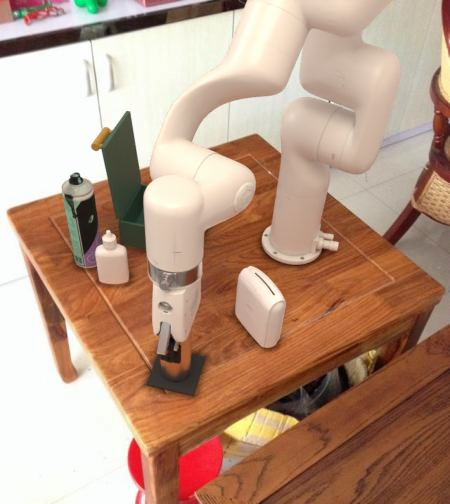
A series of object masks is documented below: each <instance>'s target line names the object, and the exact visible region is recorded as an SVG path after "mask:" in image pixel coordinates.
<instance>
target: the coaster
mask: <svg viewBox="0 0 450 504" xmlns="http://www.w3.org/2000/svg"><path fill="white" fill-rule="evenodd" d="M206 358H207V357H206V356H205V355H200V354H196V353H191V371H190V374H189V375H188V376H187V377H186V378H185V379H183V380H180V381H171V380H168V379H166V378H165V377H164V376H163V375H162V373H161V365H160V354H157V356H156V358H155V361H154V363H153V366H152V368H151V371H150V373H149V376H148V377H147V381H146V382H145V383H146V384H145V386H149V387H153V388H157V389H161V390H166V391H169V392H174V393H179V394H182V395H187V396H191V397H194V396H195V393H196V390H197V387H198V383H199V379H200V376H201V373H202V371H203V368H204V365H205V361H206Z"/></svg>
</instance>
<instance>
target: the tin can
mask: <svg viewBox="0 0 450 504" xmlns="http://www.w3.org/2000/svg"><path fill="white" fill-rule="evenodd" d="M192 335H193V326H192V327H191V330H190V332H189V335H188V337H187V339H186V340H185V341H184V342H179V345H180V346H181V362H180V364H177V363H169V362H166V361H164V360H161V359H160V365H161V373H162V375H163V376H164V377H165V378H166V379H168V380H171V381H180V380H183V379H185V378H186V377H187V376H188V375H189V374H190V371H191V354H192V339H193V338H192ZM159 337H160V334H159V336H158V338H159ZM169 341H172V342H174V338H173V337H170V338H169Z"/></svg>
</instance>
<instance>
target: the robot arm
mask: <svg viewBox="0 0 450 504" xmlns="http://www.w3.org/2000/svg"><path fill="white" fill-rule="evenodd" d="M393 1H394V0H246V3H245V5H244V7H243V10H242V13H241V15H240V18H239V20H238V22H237V25H236V27H235V30H234V33H233V36H232V37H231V40H230V43H229V45H228V48H227V52H226V53H225V56H224V57H223V59H222V61H221V62H220V63H218V65H216V66H215V67H213V68H212V69H210V70H209V71H207V72H206V73H204V74H203V75H201V76H199V77H198V78H197V79H196V80H194V81H193V82H192V83H191V84H190V85H189V86H187V88H186V89H185V90H184V91H182V93H181V94H179V96H178V97H176V99H175V100H174V101H173V103H172V104H171V106H170V107H169V108H168V109H167V110H168V111H167V113H166V115H165V116H164V120H163V122H162V124H161V127H160V129H159V132H158V134H157V138H156V140H155V143H154V146H153V149H152V152H151V155H150V160H149V175H150V179H151V182H149V184H147V185H148V186H147V188H146V190H145V192H144V197H143V204H144V220H145V236H146V250H145V251H146V267H147V276H148V278H149V280H150V281H151V282H152V294H151V296H152V299H151V323H152V324H151V325H152V333H153V335H154V337H156V338H158V343H157V349H156V354H157V355H158V354H160V359H161V360H164V361H166V362H169V363H177V364H180V362H181V346H180V345H179V342H184V341H185V340H186V339H187V337H188V335H189V332H190V330H191V327H192V328H193V324H194V322H195V318H196V316H197V313H198V311H199V307H200V305H201V304H200V303H201V299H202V277H203V274H204V249H205V232H206V231H207V230H209V229H211V228H212V227H214V226H217V225H219V224H221V223H224V222H225V221H228V220H230V219H232V218H234V217H235V216H237V215H238V214H240V213H241V212H243V211H244V210H245V209H246V208H248V207H249V205H251V202H252V201H253V198H254V196H255V193H256V188H257V181H256V178H255V174H254V173H253V172H252V170H251V169H250V168H249V167H247V166H246V165H244V164H242V163H241V162H239V161H236V160H234V159H231V158H229V157H227V156H224V155H222V154H220V153H219V152H216V151H214V150H211V149H209V148H207V147H204V146H202V145H200V144H197V143H196V142H193V140H194V139H195V135H196V133H197V130H198V129H199V127H200V126H201V124H202V122H203V121H204V120H205V118H207V117H208V115H209V114H211V113H212V112H214V111H215V110H216V109H218V108H219V107H222V106H223V105H226V104H228V103H232V102H234V101H239V100H244V99H251V98H265V97H271V96H276V95H278V94H280V93H282V92H283V91H284V90H285V89H286V87H287V85H288V83H289V80H290V79H291V76H292V74H293V71H294V68H295V66H296V64H297V61H298V59H299V57H300V63H299V70H298V71H299V73H298V77H299V78H298V79H299V84H300V86H301V88H302V89H304V91H306V92H307V93H309V94H310V95H313V96H315V97H310V96H302V97H298V98H295V99H294V100H292V101H291V102H290V103H288V104H287V106H286V108H285V109H284V111H283V114H282V116H281V120H280V126H279V127H280V129H279V132H280V133H279V135H280V164H279V173H278V178H277V185H276V193H275V199H274V205H273V210H272V211H273V212H272V218H271V224H270V225H269V226H268V227H266V228H265V229H264V231H263V232H262V236H261V246H262V249H263V251H264V252H265V253H266V254H267V255H268V256H269V257H270V258H272V259H273V260H275V261H277V262H280V263H282V264H286V265H292V266H294V265H295V266H297V265H299V266H300V265H305V264H308V263H311V262H313V261H315V260H316V259H317V258H318V257H319V256H320V255H321V253H322V250H323V249H325V250H328V251H332V252H338V249H339V244H340V242H339V241H336V240H334V237H335V234H333V233H326V232H323V230H321V227H322V224H321V221H322V217H323V212H324V208H325V205H326V200H327V197H328V191H329V186H330V183H331V168H334V169H335V170H339V171H341V172H344V173H347V174H350V175H356V176H359V175H363V174H365V173H367V172H368V171H369V170H370V169H371V168H372V167H373V166H374V164H375V162H376V160H377V158H378V155H379V153H380V150H381V147H382V145H383V141H384V138H385V134H386V132H387V127H388V124H389V121H390V118H391V114H392V111H393V109H394V105H395V102H396V98H397V94H398V91H399V87H400V83H401V79H402V78H401V77H402V66H401V61H400V59H399V58H398V56H397V55H396V54H395V53H393V52H391V51H390V50H388V49H385V48H382V47H379V46H376V45H372V44H369V43H366V42H365V41H364V40H363V31H364V30H366V29H367V28H368V27H369V25H371V23H373V21H375V19H376V18H377V17H378V16H379V15H380V14H381V13H382V12H383V11H384V10H386V8H387V7H388V6H389V5H391V3H392V2H393ZM300 54H301V56H300ZM316 97H318V98H316ZM344 107H345V108H344ZM330 167H331V168H330ZM159 334H160V337H159ZM170 337H173V338H174V342H172V341H169V338H170Z"/></svg>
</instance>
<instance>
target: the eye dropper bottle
mask: <svg viewBox="0 0 450 504" xmlns="http://www.w3.org/2000/svg"><path fill="white" fill-rule="evenodd" d="M101 242H102V243H101V244H102V245H100V246H98V247H97V248H96V252H95V256H96V263H97V266H96V270H97V275H98V281H99V282H100V283H102V284H107V285H122V284H125V283H128V282H129V281H130V269H129V260H128V252H127V251H128V250H127V248H126V246H125V245H121V243H117V242H118V241H117V236H116V235H115V234H114V233H112V231H111V230H110V229H107V230H106V232H105V234H103V235H102V237H101Z"/></svg>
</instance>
